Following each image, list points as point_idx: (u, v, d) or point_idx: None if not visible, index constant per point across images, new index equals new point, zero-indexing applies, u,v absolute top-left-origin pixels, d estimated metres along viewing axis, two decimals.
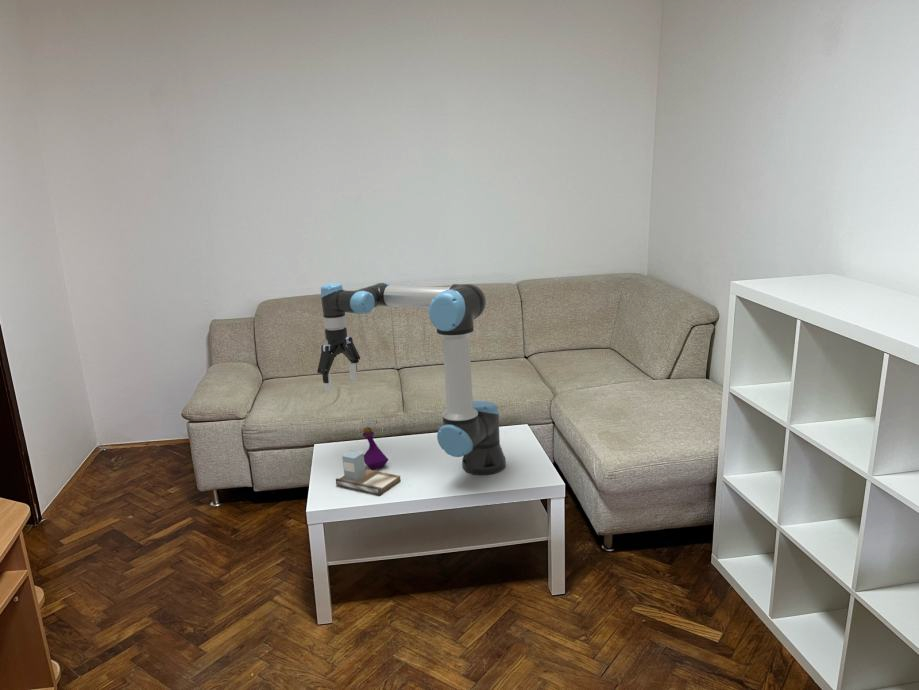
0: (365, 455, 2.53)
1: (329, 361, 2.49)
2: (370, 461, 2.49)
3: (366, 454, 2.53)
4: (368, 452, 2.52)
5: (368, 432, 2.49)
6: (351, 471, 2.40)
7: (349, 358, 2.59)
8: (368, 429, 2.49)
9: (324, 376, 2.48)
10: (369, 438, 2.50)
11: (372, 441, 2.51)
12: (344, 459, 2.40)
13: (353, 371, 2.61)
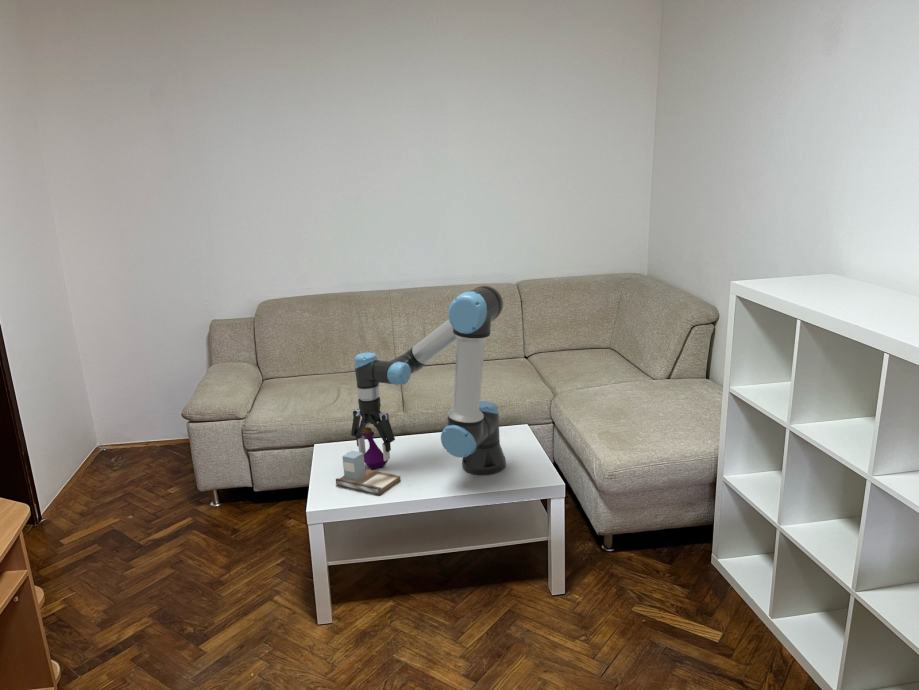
0: (365, 455, 2.53)
1: None
2: (370, 461, 2.49)
3: (366, 454, 2.53)
4: (368, 452, 2.52)
5: (368, 432, 2.49)
6: (351, 471, 2.40)
7: None
8: (368, 429, 2.49)
9: None
10: (369, 438, 2.50)
11: (372, 441, 2.51)
12: (344, 459, 2.40)
13: None
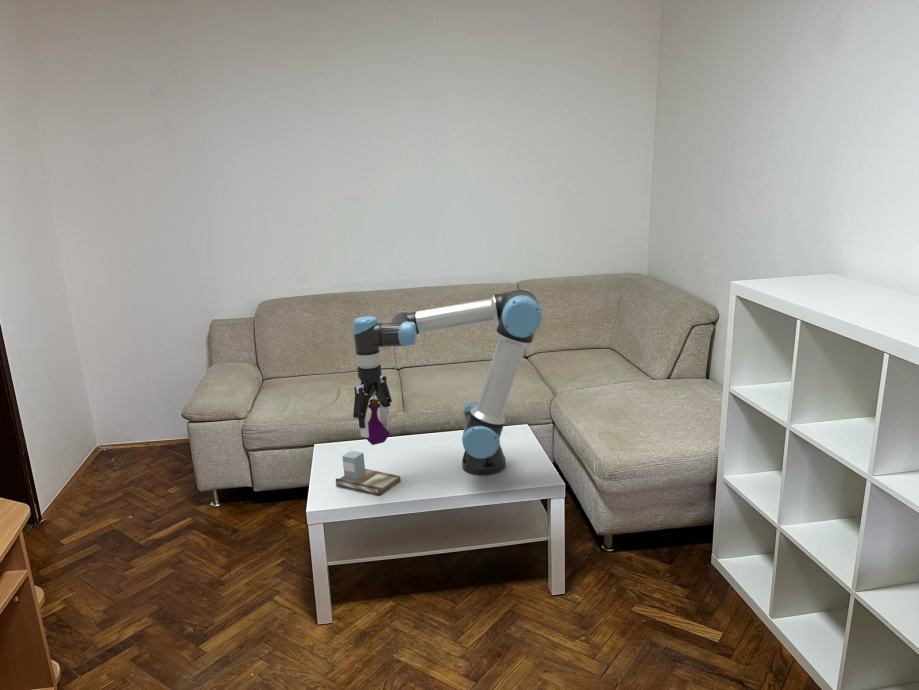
0: (374, 431, 2.31)
1: (364, 404, 2.27)
2: (387, 430, 2.33)
3: (375, 429, 2.31)
4: (376, 426, 2.32)
5: None
6: (351, 471, 2.40)
7: (380, 400, 2.36)
8: (375, 399, 2.30)
9: (360, 421, 2.27)
10: (377, 408, 2.31)
11: None
12: (344, 459, 2.40)
13: (384, 416, 2.37)
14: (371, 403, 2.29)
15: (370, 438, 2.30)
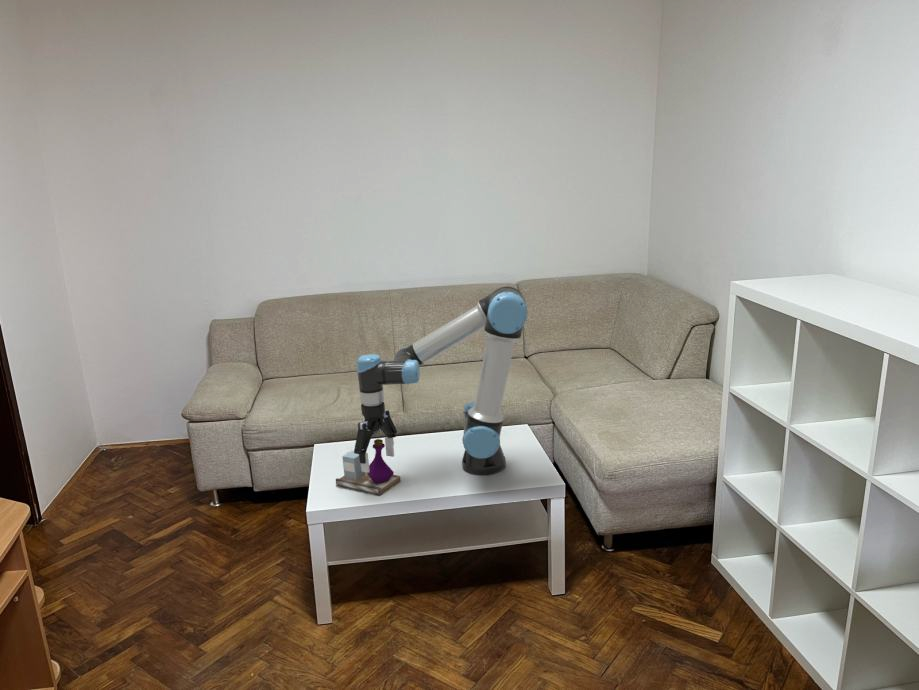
0: (378, 471, 2.34)
1: (366, 439, 2.29)
2: None
3: (379, 469, 2.34)
4: (380, 465, 2.35)
5: None
6: (351, 471, 2.40)
7: (386, 433, 2.40)
8: (380, 439, 2.34)
9: (361, 456, 2.28)
10: None
11: None
12: (344, 459, 2.40)
13: (390, 446, 2.41)
14: (375, 443, 2.32)
15: (374, 478, 2.33)
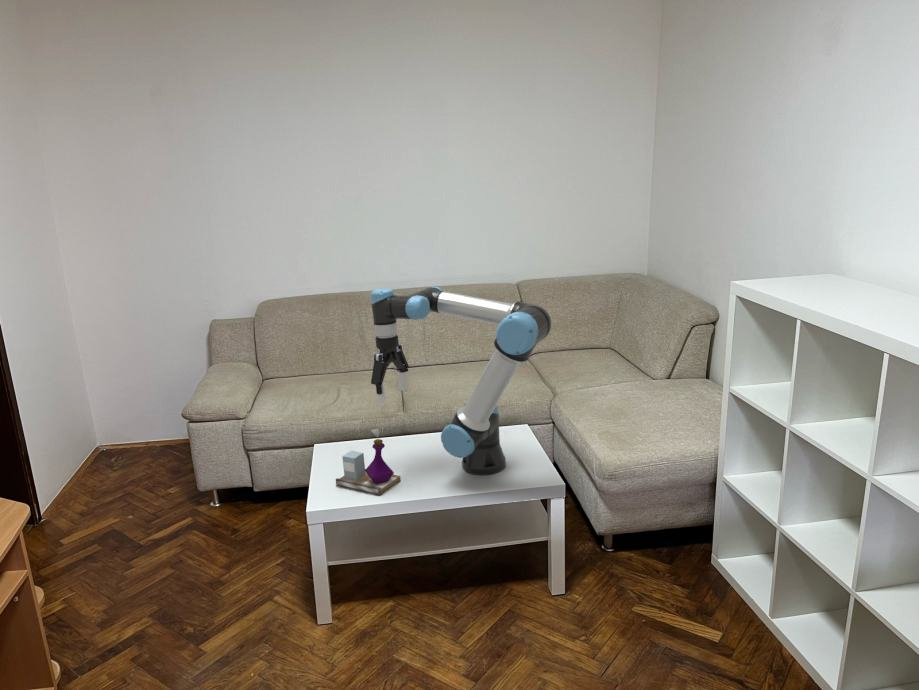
0: (378, 471, 2.34)
1: (382, 371, 2.36)
2: None
3: (379, 469, 2.34)
4: (380, 465, 2.35)
5: None
6: (351, 471, 2.40)
7: (398, 367, 2.47)
8: (380, 439, 2.34)
9: (378, 387, 2.35)
10: None
11: None
12: (344, 459, 2.40)
13: (403, 381, 2.48)
14: (375, 443, 2.32)
15: (374, 478, 2.33)
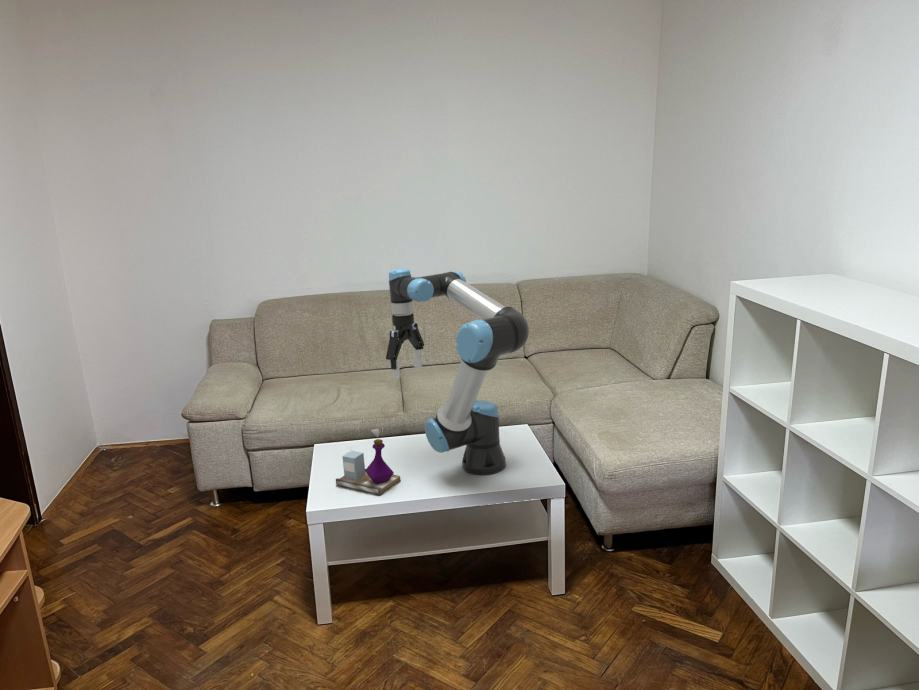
0: (378, 471, 2.34)
1: (397, 347, 2.47)
2: None
3: (379, 469, 2.34)
4: (380, 465, 2.35)
5: None
6: (351, 471, 2.40)
7: (414, 344, 2.57)
8: (380, 439, 2.34)
9: (392, 362, 2.46)
10: None
11: None
12: (344, 459, 2.40)
13: (418, 358, 2.59)
14: (375, 443, 2.32)
15: (374, 478, 2.33)
